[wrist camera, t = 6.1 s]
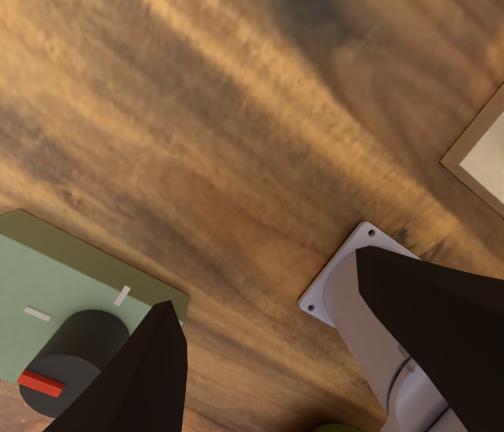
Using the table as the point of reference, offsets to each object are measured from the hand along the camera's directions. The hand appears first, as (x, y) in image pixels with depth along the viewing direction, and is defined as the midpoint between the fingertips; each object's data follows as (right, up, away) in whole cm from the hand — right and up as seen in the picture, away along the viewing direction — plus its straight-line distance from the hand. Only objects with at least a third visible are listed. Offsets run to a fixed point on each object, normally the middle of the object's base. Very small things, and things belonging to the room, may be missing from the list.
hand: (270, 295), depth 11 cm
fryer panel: (-13, -3, +9) cm, 16 cm away
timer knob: (-10, -4, +6) cm, 13 cm away
